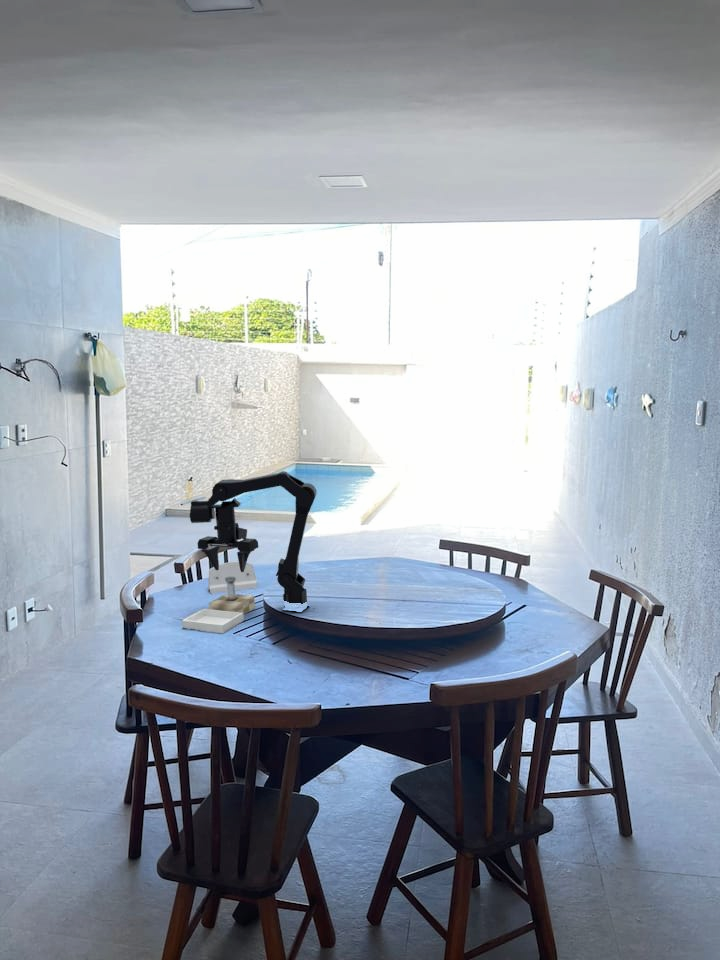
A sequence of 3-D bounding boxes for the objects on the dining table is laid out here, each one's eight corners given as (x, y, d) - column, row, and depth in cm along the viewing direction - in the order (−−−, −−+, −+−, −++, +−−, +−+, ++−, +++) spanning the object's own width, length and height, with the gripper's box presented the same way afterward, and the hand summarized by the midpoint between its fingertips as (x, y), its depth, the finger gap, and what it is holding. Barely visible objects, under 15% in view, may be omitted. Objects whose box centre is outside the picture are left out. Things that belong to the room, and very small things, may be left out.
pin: (239, 610, 238) (237, 577, 237) (234, 613, 235) (231, 579, 234) (231, 609, 239) (228, 576, 238) (225, 612, 237) (223, 579, 235)
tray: (243, 621, 228) (243, 613, 228) (223, 633, 218) (222, 625, 218) (204, 616, 234) (203, 608, 233) (182, 628, 224) (181, 620, 224)
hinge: (209, 593, 257) (206, 564, 259) (208, 594, 261) (205, 565, 263) (258, 587, 262) (255, 558, 263) (257, 588, 266) (253, 560, 268)
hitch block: (255, 608, 240) (254, 595, 239) (237, 618, 231) (236, 605, 230) (227, 605, 244) (227, 593, 243) (209, 615, 235) (208, 602, 234)
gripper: (265, 517, 237) (269, 566, 239) (215, 515, 245) (219, 562, 247) (246, 524, 227) (250, 575, 229) (194, 522, 235) (198, 571, 237)
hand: (229, 571), depth 236 cm, fingers open, 9 cm apart
